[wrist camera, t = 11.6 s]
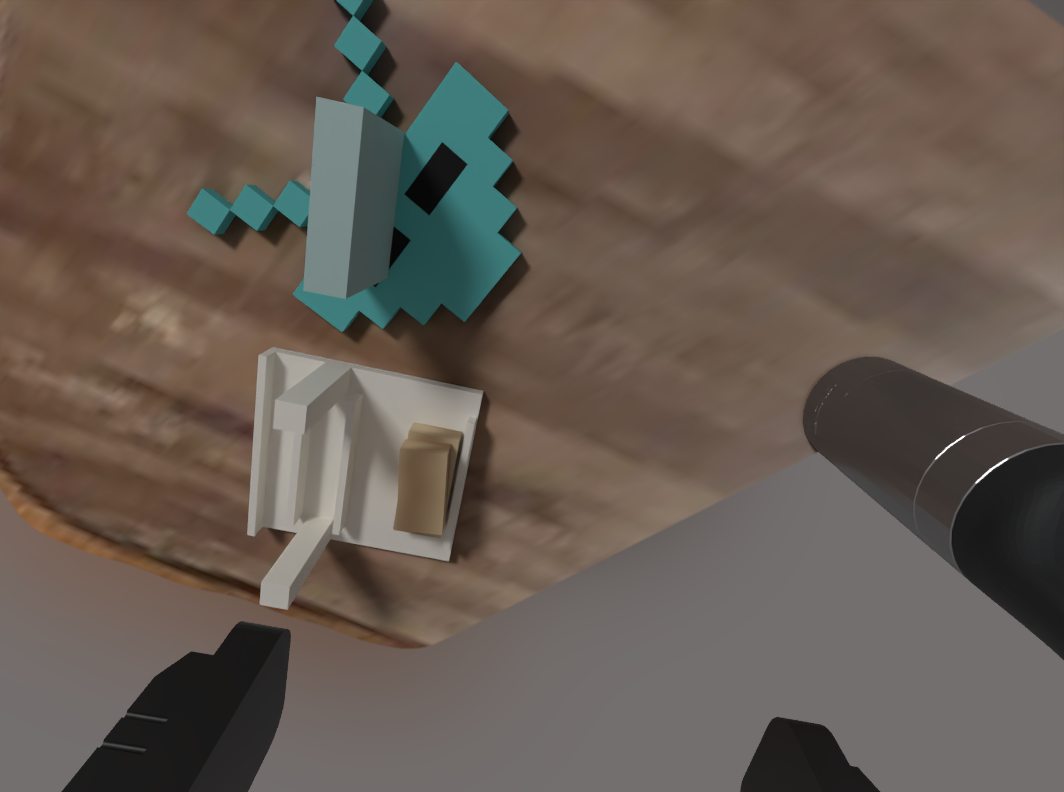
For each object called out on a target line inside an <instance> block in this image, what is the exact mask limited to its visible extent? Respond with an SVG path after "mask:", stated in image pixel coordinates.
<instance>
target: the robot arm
mask: <svg viewBox="0 0 1064 792" xmlns="http://www.w3.org/2000/svg"><path fill="white" fill-rule="evenodd" d="M803 424H804V429H805V433H806V435H807V438H808V440H809V442H810V443H811V444H812V445H813V447H814V448H815V449H816V450H817V451H818V452H819V453H820V454H822V455H823V456H824V457H825V458H826V459H828V460H829V461H830V462H831V463H832V464H834V465H835V466H836V467H837V468H838V469H839V470H840V471H841V472H842V473H844V474H845V475H846V476H847V477H848V478H849V479H851V480H852V481H853V482H854V483H855V484H856V485H858V486H859V487H860V488H861V489H863V491H865V492H866V493H867V494H868V495H869V496H870V497H872V498H873V499H874V500H875V501H876V502H877V503H879V504H880V505H881V506H882V507H883V508H884V509H886V510H887V511H888V512H889V513H890V514H891V515H893V516H894V517H895V518H896V519H897V520H899V521H900V522H901V523H902V524H903V525H904V526H905V527H907V528H908V529H909V530H910V531H911V532H912V533H914V534H915V535H916V536H917V537H918V538H919V539H921V540H922V541H923V542H924V543H925V544H927V545H928V546H929V547H930V548H931V549H932V550H934V551H935V552H936V553H938V554H939V555H940V556H941V557H942V558H943V559H944V560H946V561H947V562H948V563H949V564H950V565H951V566H953V567H954V568H955V569H956V570H957V571H958V572H960V573H961V574H962V575H963V576H964V577H966V578H967V579H968V580H969V581H970V582H971V583H973V584H974V585H975V586H976V587H977V588H979V589H980V590H981V591H982V592H983V593H985V594H986V595H987V596H988V597H990V598H991V599H992V600H993V601H994V602H996V603H997V604H998V605H999V606H1001V607H1002V608H1003V609H1004V610H1006V611H1007V612H1008V613H1009V614H1011V615H1012V616H1013V617H1014V618H1015V619H1017V620H1018V621H1019V622H1020V623H1022V624H1023V625H1024V626H1025V627H1026V628H1028V629H1029V630H1030V631H1031V632H1032V633H1033V634H1035V635H1036V636H1037V637H1038V638H1039V639H1040V640H1042V641H1043V642H1044V643H1045V644H1046V645H1047V646H1049V647H1050V648H1051V649H1052V650H1053V651H1054V652H1055V653H1057V654H1058V655H1059V656H1060V657H1061V658H1062V659H1063V660H1064V434H1062V433H1060V432H1057V431H1055V430H1053V429H1050V428H1047V427H1045V426H1042V425H1040V424H1038V423H1035V422H1033V421H1031V420H1028V419H1026V418H1024V417H1021V416H1019V415H1016V414H1014V413H1012V412H1010V411H1007V410H1005V409H1003V408H1000V407H998V406H996V405H993V404H991V403H989V402H986V401H984V400H981V399H979V398H977V397H975V396H972V395H970V394H968V393H965V392H963V391H960V390H958V389H956V388H953V387H951V386H949V385H946V384H944V383H942V382H939V381H937V380H935V379H932V378H930V377H928V376H926V375H924V374H921V373H919V372H917V371H914V370H912V369H909V368H907V367H905V366H902V365H900V364H898V363H895V362H893V361H891V360H888V359H884V358H879V357H862V358H857V359H852V360H850V361H847V362H845V363H842V364H840V365H838V366H837V367H835V368H833V369H832V370H830V371H829V372H828V373H827V374H826V375H824V376H823V377H822V378H821V379H820V380H819V381H818V383H817V384H816V385H815V386H814V388H813V389H812V391H811V393H810V395H809V397H808V399H807V401H806V405H805V408H804V415H803ZM290 638H291V634H290V630H288V629H283V628H277V627H271V626H265V625H260V624H254V623H248V622H243V621H241V622H239V623H238V624H236V626H235V627H234V628H233V629H232V630H231V632H230V633H229V634H228V636H227V637H226V639H225V640H224V642H223V643H222V644H221V646H220V647H219V648H218V650H217V651H216V653H215V654H214V655H209V654H203V653H197V652H190V653H188V654H187V655H185V656H184V657H183V658H181V659H180V660H179V661H177V662H175V663H174V664H172V665H171V666H170V667H168V668H167V669H165V670H164V671H162V672H161V673H160V674H158V675H157V676H155V677H154V678H153V679H152V681H151V682H150V683H149V684H148V686H147V687H146V688H145V689H144V691H143V692H142V693H141V694H140V696H139V697H138V698H137V699H136V701H135V702H134V703H133V704H132V705H131V707H130V708H129V709H128V710H127V714H126V716H125V717H124V718H121V719H120V720H119V722H118V723H117V724H116V725H115V727H114V728H113V729H112V730H111V731H110V733H109V734H108V735H107V736H106V738H105V739H104V741H103V744H102V746H101V747H100V748H97V749H96V750H95V751H94V753H93V754H92V755H91V756H90V757H89V759H88V760H87V761H86V762H85V764H84V765H83V766H82V767H81V769H80V770H79V771H78V772H77V774H76V775H75V776H74V777H73V778H72V780H71V781H70V782H69V783H68V785H67V786H66V787H65V788H64V790H63V791H62V792H248V790H249V788H250V786H251V784H252V782H253V780H254V778H255V776H256V774H257V772H258V770H259V768H260V766H261V764H262V762H263V760H264V758H265V756H266V754H267V752H268V750H269V748H270V745H271V743H272V741H273V738H274V736H275V733H276V730H277V728H278V725H279V721H280V718H281V714H282V710H283V706H284V700H285V690H286V680H287V670H288V660H289V649H290ZM740 792H880V791H879V790H878V789H877V788H876V787H875V786H874V785H873V783H872V782H871V781H870V780H869V779H868V778H867V777H866V776H865V775H864V774H863V773H862V771H861V770H860V769H859V768H858V767H853V766H850V765H849V763H848V761H847V759H846V758H845V756H844V754H843V752H842V750H841V749H840V747H839V745H838V743H837V742H836V740H835V738H834V736H833V735H832V733H831V732H830V731H829V730H828V729H827V728H826V727H825V726H823V725H820V724H814V723H809V722H803V721H798V720H792V719H786V718H780V717H776V718H774V719H772V721H771V722H770V723H769V725H768V727H767V729H766V731H765V733H764V735H763V737H762V740H761V742H760V744H759V746H758V748H757V750H756V753H755V754H754V756H753V759H752V761H751V763H750V765H749V767H748V769H747V772H746V773H745V776H744V778H743V781H742V785H741V791H740Z"/></svg>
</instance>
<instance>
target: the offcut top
mask: <svg viewBox="0 0 1064 792" xmlns="http://www.w3.org/2000/svg"><path fill="white" fill-rule="evenodd" d="M450 456H451V444H447V443H437V442H428V441H418V440H408V439H405V441H404V443H403V444H402V446H401V448H400V451H399V477H398V503H397V529H396V531H406V532H416V533H426V534H436V535H442V534H443V530H444V526H445V523H446V512H447V498H448V484H449V470H450Z"/></svg>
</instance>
